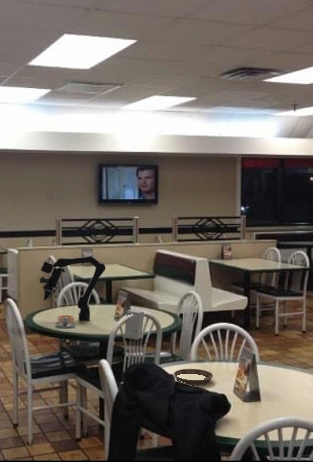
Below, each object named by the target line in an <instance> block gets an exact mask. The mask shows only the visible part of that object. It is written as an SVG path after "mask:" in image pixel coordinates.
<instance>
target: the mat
mask: <svg viewBox="0 0 313 462" xmlns="http://www.w3.org/2000/svg"><path fill="white" fill-rule="evenodd" d="M56 324H57V323H56ZM56 324H53V325H54V327H55V329H57V330H58V329H59V330H63V329H67V330H69V329H77V326H75V327H74V328H58V327H56Z"/></svg>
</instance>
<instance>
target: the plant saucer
mask: <svg viewBox="0 0 313 462" xmlns="http://www.w3.org/2000/svg"><path fill="white" fill-rule="evenodd" d="M180 374H198V375H203V376H205V377H206V378H204V380H187V379H182V378H179V377H177V375H180ZM173 375H174V378H175V379H176V381H178V380H180V381H182V382H185V383H188V384H187V385H190V384H202V385H206V384H208V383H209V382H211V380H212V379H213V377H214V374H213V373H212V372H210V371H207V370H204V369H199V368H183V369H182V368H181V369H178V370H176V371H174V372H173ZM185 383H184V384H185ZM205 383H206V384H205Z"/></svg>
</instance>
